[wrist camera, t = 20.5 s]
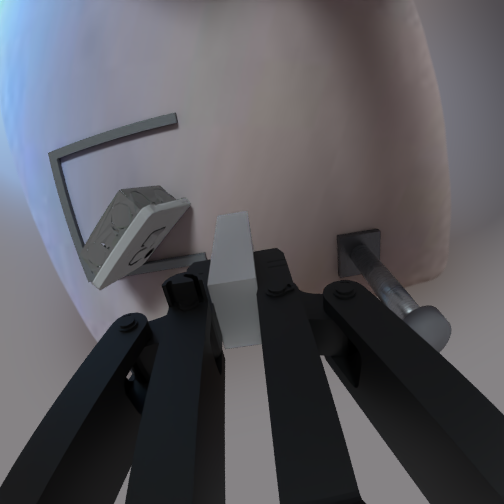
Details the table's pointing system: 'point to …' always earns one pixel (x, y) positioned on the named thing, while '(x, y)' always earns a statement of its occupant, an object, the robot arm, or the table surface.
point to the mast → (372, 269)
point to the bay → (66, 202)
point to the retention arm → (430, 326)
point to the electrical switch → (130, 232)
